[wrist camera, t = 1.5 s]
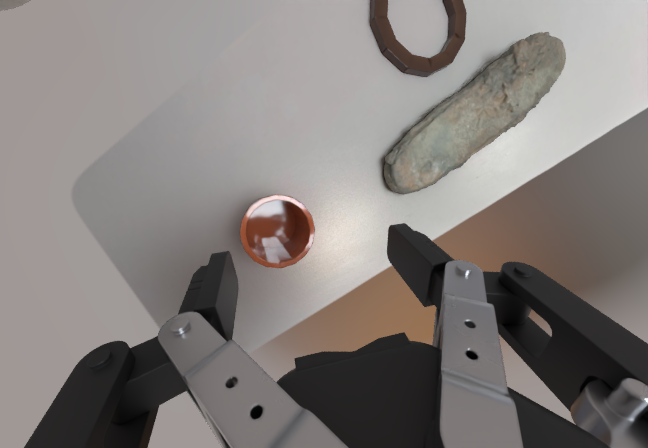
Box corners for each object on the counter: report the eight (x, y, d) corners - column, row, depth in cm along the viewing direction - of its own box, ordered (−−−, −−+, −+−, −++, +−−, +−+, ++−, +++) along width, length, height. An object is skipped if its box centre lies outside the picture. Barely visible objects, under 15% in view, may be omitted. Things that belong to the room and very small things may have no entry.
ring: (351, 25, 31) (354, 18, 30) (404, -63, 32) (409, -73, 31) (429, 96, 35) (435, 93, 34) (474, 16, 36) (481, 10, 35)
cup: (232, 234, 29) (225, 246, 21) (261, 186, 30) (265, 180, 21) (281, 259, 31) (291, 279, 23) (307, 214, 31) (327, 218, 23)
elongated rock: (360, 153, 34) (394, 210, 37) (378, 148, 29) (417, 215, 32) (536, 21, 38) (554, 82, 41) (579, -3, 33) (596, 69, 36)
